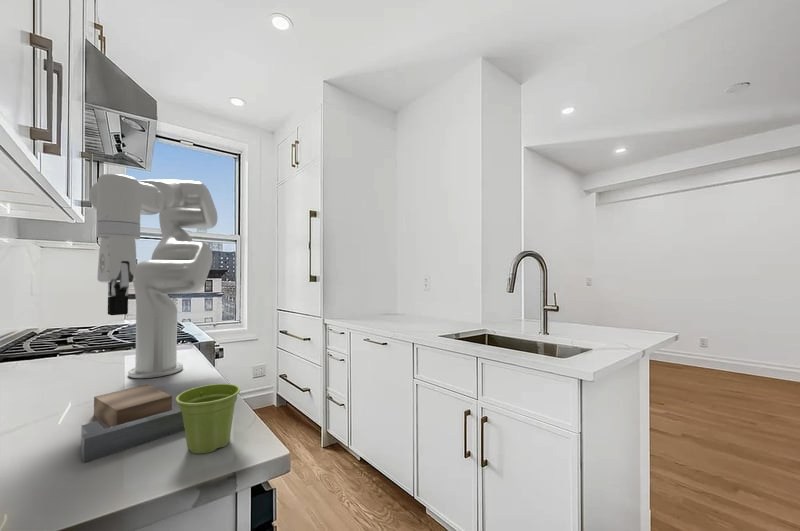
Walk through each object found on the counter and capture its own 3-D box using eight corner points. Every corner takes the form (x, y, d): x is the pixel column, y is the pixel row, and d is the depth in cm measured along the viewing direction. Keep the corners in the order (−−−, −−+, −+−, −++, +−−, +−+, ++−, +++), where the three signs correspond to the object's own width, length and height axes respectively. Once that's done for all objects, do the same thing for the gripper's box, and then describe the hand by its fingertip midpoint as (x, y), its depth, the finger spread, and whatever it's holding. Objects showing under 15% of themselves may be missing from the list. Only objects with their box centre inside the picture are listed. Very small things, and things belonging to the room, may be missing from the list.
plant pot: (163, 463, 52) (164, 405, 52) (188, 434, 61) (189, 385, 61) (231, 457, 54) (231, 401, 54) (245, 429, 63) (246, 381, 63)
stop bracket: (73, 445, 57) (73, 424, 57) (202, 408, 73) (202, 391, 73) (84, 462, 52) (84, 439, 52) (220, 418, 68) (220, 400, 68)
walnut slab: (93, 416, 69) (94, 396, 69) (146, 402, 77) (146, 384, 77) (116, 432, 63) (117, 410, 63) (171, 415, 70) (171, 395, 70)
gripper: (88, 232, 79) (87, 313, 79) (106, 227, 70) (104, 319, 69) (129, 235, 85) (128, 310, 84) (150, 231, 76) (149, 315, 75)
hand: (117, 314), depth 77 cm, fingers closed
